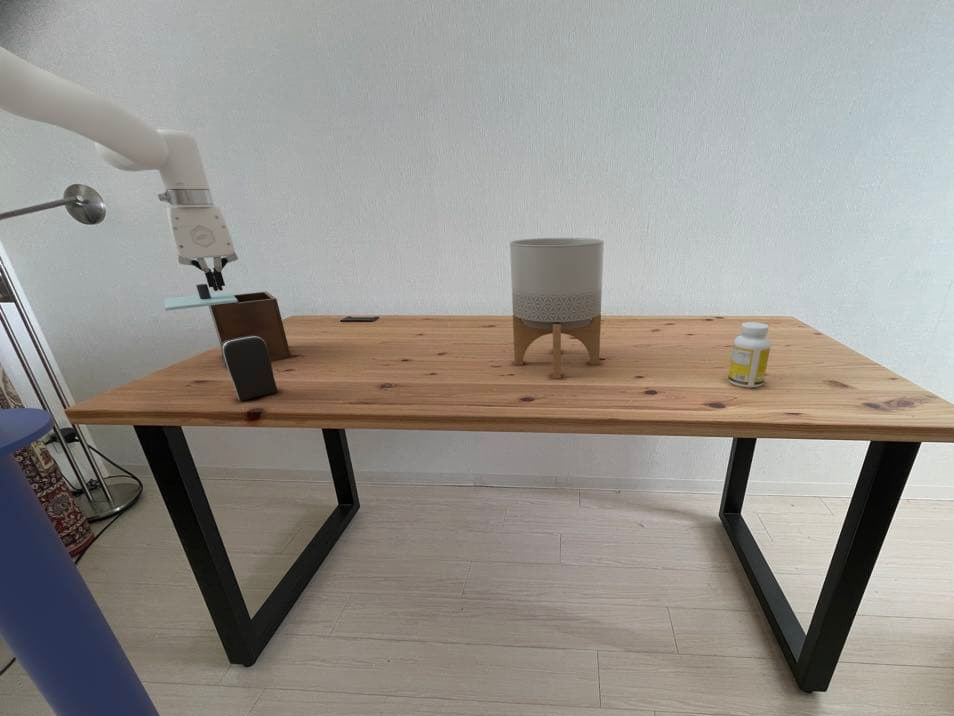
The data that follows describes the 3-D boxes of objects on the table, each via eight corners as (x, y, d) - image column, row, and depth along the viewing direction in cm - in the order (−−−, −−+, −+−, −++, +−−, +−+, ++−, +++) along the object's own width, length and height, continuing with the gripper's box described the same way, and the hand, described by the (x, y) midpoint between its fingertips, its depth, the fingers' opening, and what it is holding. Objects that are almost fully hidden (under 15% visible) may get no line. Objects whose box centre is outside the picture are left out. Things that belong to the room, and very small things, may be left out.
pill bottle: (763, 379, 91) (775, 322, 87) (762, 391, 86) (774, 330, 81) (729, 375, 94) (738, 319, 89) (725, 385, 89) (735, 327, 84)
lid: (166, 310, 92) (159, 292, 91) (165, 301, 101) (159, 284, 100) (238, 302, 99) (233, 285, 98) (231, 294, 108) (226, 278, 107)
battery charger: (273, 387, 91) (258, 331, 86) (280, 392, 89) (264, 335, 84) (234, 397, 87) (215, 339, 82) (239, 403, 84) (221, 343, 80)
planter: (595, 350, 110) (599, 237, 100) (602, 378, 93) (608, 244, 83) (518, 351, 111) (513, 238, 100) (511, 378, 94) (505, 246, 83)
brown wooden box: (229, 368, 102) (210, 306, 96) (223, 355, 111) (205, 297, 106) (291, 357, 109) (276, 298, 103) (280, 345, 118) (266, 291, 113)
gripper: (144, 200, 87) (177, 296, 95) (235, 199, 95) (258, 288, 103) (145, 200, 92) (176, 292, 100) (231, 199, 101) (253, 284, 108)
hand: (218, 289), depth 101 cm, fingers closed
